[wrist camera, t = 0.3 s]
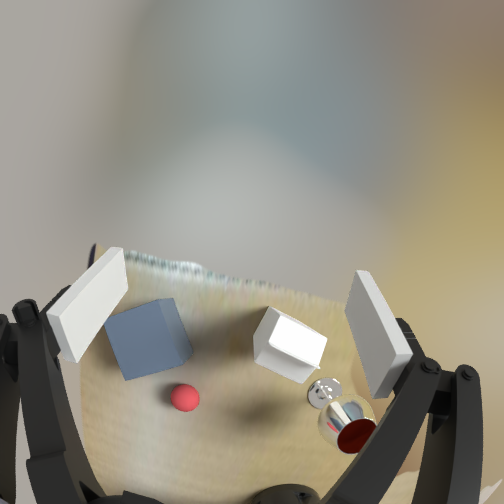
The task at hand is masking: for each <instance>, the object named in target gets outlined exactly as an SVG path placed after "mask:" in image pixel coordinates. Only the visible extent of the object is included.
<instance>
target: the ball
mask: <svg viewBox="0 0 504 504" xmlns="http://www.w3.org/2000/svg"><path fill="white" fill-rule="evenodd" d="M171 402H172V404H173V405H174V407H175V408H176V409H178V410H180V411H184V412H188V411H192V410H193V409H195V408H196V407H197V406H198V404H199V394H198V392H197V390H196V389H195V388H194V387H192V386H190V385H187V384H182V385H178V386H176V387H175V388H174V389H173V391H172V393H171Z"/></svg>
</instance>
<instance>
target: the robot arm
mask: <svg viewBox="0 0 504 504" xmlns="http://www.w3.org/2000/svg"><path fill="white" fill-rule="evenodd" d="M127 290H128V284H127V277H126V270H125V263H124V254H123V248H117V247H111V248H110V249H109V250H108V251H107V252H106V253H104V254H103V255H102V256H101V257H100V258H99V259H98V260H97V261H96V262H95V263H94V264H93V265H92V266H91V267H90V268H89V269H88V270H87V271H86V272H85V273H84V274H83V275H82V276H81V277H80V278H79V279H78V280H77V281H76V282H75V283H74V284H73V285H69V286H67V287H65V288H63V289H62V290H61V291H60V292H59V293H58V294H57V295H56V296H55V297H54V298H53V299H52V301H50V302H49V303H48V304H47V305H46V306H45V307H44V308H43V310H42V311H41V312H40V313H39V310H38V307H37V304H36V301H34V300H32V299H25V300H22V301H20V302H18V303H17V304H15V306H14V307H13V309H12V312H13V315H14V317H15V320H16V322H17V323H9V321H8V318H7V316H6V315H4V314H0V504H15V499H16V475H15V457H16V434H17V421H18V411H19V403H20V396H21V404H22V412H23V418H24V425H25V430H26V435H27V441H28V446H29V450H30V456H31V457H30V459H27V460H26V467H27V472H28V475H29V479H30V482H31V486H32V490H33V493H34V496H35V499H36V502H37V504H163V503H161V502H159V501H157V500H155V499H152V498H149V497H145V496H141V495H138V494H134V493H131V492H128V491H125V490H124V492H123V495H112V496H106V494H105V492H104V491H103V489H102V488H101V486H100V485H99V483H98V482H97V480H96V478H95V476H94V474H93V471H92V469H91V466H90V464H89V462H88V459H87V456H86V454H85V451H84V448H83V446H82V443H81V440H80V437H79V434H78V431H77V428H76V425H75V422H74V419H73V416H72V412H71V409H70V405H69V401H68V397H67V394H66V390H65V386H64V381H63V377H62V372H61V368H60V363H59V359H58V357H57V355H58V354H59V352H60V351H61V353H62V355H63V357H64V359H65V360H67V361H70V362H73V363H76V364H77V363H78V361H79V360H80V358H81V357H82V355H83V354H84V352H85V351H86V349H87V347H88V346H89V344H90V343H91V341H92V340H93V338H94V337H95V335H96V334H97V332H98V331H99V330H100V328H101V327H102V325H103V324H104V322H105V321H106V319H107V318H108V316H109V315H110V314H111V312H112V311H113V309H114V308H115V307H116V305H117V304H118V302H119V301H120V300H121V298H122V297H123V295H124V294H125V293H126V291H127ZM345 314H346V316H347V319H348V322H349V325H350V328H351V331H352V334H353V337H354V340H355V343H356V347H357V350H358V353H359V356H360V359H361V362H362V366H363V369H364V372H365V376H366V379H367V382H368V386H369V389H370V392H371V396H372V399H378V398H388V396H389V394H390V393H391V391H392V390H393V391H394V394H395V397H394V399H393V400H392V402H391V403H390V405H389V406H388V408H387V410H386V412H385V414H384V415H383V417H382V419H381V420H380V422H379V424H378V425H377V427H376V428H375V430H374V431H373V433H372V434H371V436H370V437H369V439H368V440H367V442H366V443H365V445H364V446H363V448H362V449H361V450H360V452H359V453H358V455H357V456H356V457H355V459H354V460H353V461H352V463H351V464H350V465H349V467H348V468H347V469H346V471H345V472H344V473H343V474H342V476H341V477H340V478H339V479H338V481H337V482H336V483H335V484H334V486H333V487H332V488H331V489H330V490H329V491H328V493H327V494H326V495H325V496H324V497H323V498H322V499H321V500H320V497H319V495H318V494H317V492H316V491H314V490H313V489H311V488H309V487H307V486H303V485H297V484H285V485H279V486H275V487H271V488H269V489H266V490H264V491H262V492H261V493H259V494H258V495H257V496H256V497H255V498H254V499H253V500H252V502H251V504H378V503H379V502H380V500H381V499H382V497H383V496H384V494H385V493H386V491H387V490H388V488H389V486H390V485H391V483H392V481H393V480H394V478H395V476H396V474H397V473H398V471H399V469H400V467H401V466H402V464H403V462H404V460H405V458H406V456H407V454H408V452H409V451H410V449H411V447H412V445H413V443H414V441H415V438H416V436H417V434H418V432H419V430H420V428H421V426H422V423H423V421H424V419H425V416H426V414H427V413H429V418H428V425H427V432H426V439H425V446H424V451H423V457H422V462H421V467H420V471H419V476H418V480H417V484H416V488H415V492H414V496H413V500H412V503H411V504H478V503H479V495H480V486H481V476H482V461H483V416H482V399H481V387H480V378H479V375H478V373H477V371H476V370H475V369H474V368H473V367H471V366H469V365H464V364H463V365H460V366H458V368H457V369H456V370H455V372H450V371H445V370H442V369H441V366H440V365H439V364H438V363H437V362H436V361H435V360H433V359H431V358H428V357H426V356H425V354H424V352H423V350H422V348H421V347H420V345H419V343H418V341H417V339H415V338H416V337H415V335H414V333H412V330H411V328H410V326H409V325H408V324H407V323H406V322H405V321H404V320H403V319H402V318H394V316H393V314H392V312H391V310H390V308H389V306H388V305H387V303H386V301H385V299H384V297H383V296H382V294H381V292H380V290H379V289H378V287H377V285H376V283H375V282H374V280H373V278H372V277H371V275H370V273H369V272H368V271H361V270H356V272H355V276H354V279H353V283H352V287H351V290H350V294H349V297H348V301H347V304H346V307H345Z"/></svg>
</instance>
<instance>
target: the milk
mask: <svg viewBox="0 0 504 504" xmlns="http://www.w3.org/2000/svg"><path fill="white" fill-rule="evenodd" d="M326 341H327V338H326V337H324V336H322V335H321V334H319V333H318V332H316V331H314V330H313V329H311V328H310V327H308V326H306V325H305V324H303V323H302V322H300V321H298V320H296V319H294V318H292V317H290V316H288V315H286V314H284V313H283V312H281V311H279V310H277V309H275V308H273V307H271V306H269V307H268V309H267V311H266V313H265V315H264V317H263V318H262V320H261V322H260V324H259V326H258V328H257V329H256V331H255V333H254V335H253V344H254V362H255V363H257V364H259V365H261V366H263V367H265V368H267V369H269V370H271V371H273V372H275V373H277V374H280V375H282V376H284V377H286V378H288V379H290V380H293V381H295V382H297V383H299V384H302V383H303V382H304V381H305V380H306V379H307V378H308V377H309V376H310V374H311V373H312V372H313V371H314V370H315V369H316V368H318V369H320V367H319V366H318V365H319V362H320V359H321V356H322V353H323V350H324V347H325V344H326Z"/></svg>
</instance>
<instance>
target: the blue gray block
mask: <svg viewBox="0 0 504 504" xmlns="http://www.w3.org/2000/svg"><path fill="white" fill-rule="evenodd" d="M104 327H105V330H106V333H107V335H108V338H109V341H110V344H111V346H112V349H113V352H114V354H115V357H116V359H117V362H118V364H119V367H120V369H121V372H122V374H123V376H124V379H125V381H127V380H131V379H134V378H138V377H142V376H146V375H149V374H153V373H156V372H160V371H163V370H167V369H170V368H174V367H177V366H180V365H183V364H184V363H185V362H186V361H187V360H188V358H189V357H190V356H191V355H192V354H193V353H194V352H193V349H192V347H191V344H190V342H189V339H188V337H187V334H186V332H185V329H184V326H183V324H182V321H181V319H180V316H179V313H178V310H177V308H176V305H175V302H174V299H173V298H169V299H158V300H155V301H152V302H150V303H147V304H144V305H141V306H139V307H136V308H133V309H130V310H128V311H125V312H122V313H119V314H117V315H114V316H111V317H108V318H107V319H106V321H105V322H104Z"/></svg>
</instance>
